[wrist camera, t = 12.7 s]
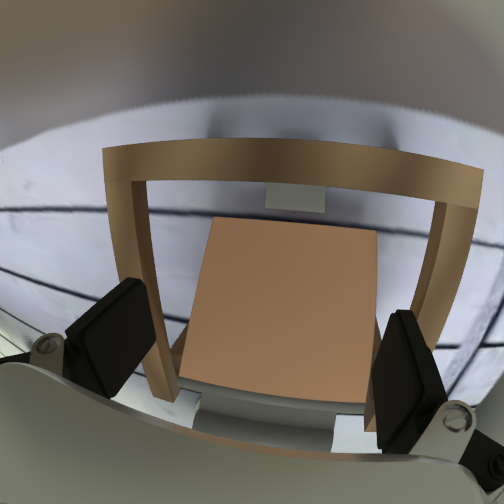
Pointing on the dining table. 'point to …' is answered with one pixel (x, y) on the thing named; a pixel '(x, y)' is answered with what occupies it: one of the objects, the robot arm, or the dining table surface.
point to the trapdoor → (281, 331)
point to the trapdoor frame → (291, 172)
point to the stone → (295, 197)
